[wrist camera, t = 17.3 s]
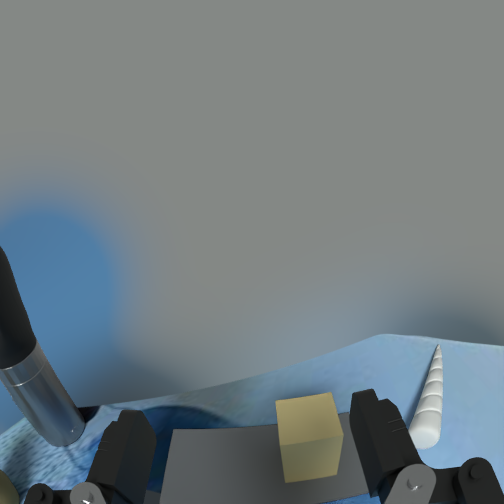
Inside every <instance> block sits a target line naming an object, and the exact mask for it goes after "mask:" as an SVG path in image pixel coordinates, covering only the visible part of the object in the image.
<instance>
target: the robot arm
mask: <svg viewBox="0 0 504 504" xmlns="http://www.w3.org/2000/svg"><path fill="white" fill-rule="evenodd" d="M0 380H1V381H2V383H3V384H4V385H5V387H6V388H7V390H8V392H9V393H10V395H11V396H12V399H13V401H14V402H15V404H16V405H17V406H18V408H19V409H20V410H21V412H22V413H23V414H24V416H25V417H26V418H27V420H28V421H29V422H30V423H31V425H32V426H33V427H34V428H35V429H36V431H37V432H38V433H39V434H40V435H41V436H43V438H44V439H45V440H46V441H47V442H48V443H49V444H51V445H53V446H58V447H61V446H66V445H69V444H71V443H73V442H74V441H76V440H77V439H78V438H79V437H80V435H81V434H82V432H83V430H84V427H85V421H84V418H83V416H82V414H81V413H80V411H79V410H78V408H77V407H76V406H75V404H74V403H73V401H72V399H71V398H70V396H69V395H68V393H67V392H66V390H65V389H64V387H63V385H62V384H61V382H60V380H59V379H58V377H57V375H56V374H55V372H54V370H53V369H52V367H51V365H50V364H49V362H48V360H47V358H46V356H45V355H44V353H43V351H42V349H41V347H40V345H39V343H38V341H37V339H36V337H35V335H34V333H33V331H32V328H31V325H30V321H29V318H28V315H27V312H26V310H25V307H24V305H23V302H22V300H21V297H20V294H19V291H18V288H17V285H16V282H15V279H14V276H13V273H12V270H11V267H10V264H9V261H8V259H7V257H6V254H5V252H4V251H3V249H2V248H1V247H0ZM349 423H350V429H351V432H352V436H353V439H354V442H355V446H356V449H357V452H358V456H359V459H360V463H361V466H362V469H363V473H364V476H365V480H366V483H367V487H368V491H369V494H370V498H372V497H376V496H379V498H380V502H381V504H504V494H503V492H502V489H501V487H500V485H499V482H498V480H497V477H496V475H495V473H494V471H493V468H492V466H491V464H490V463H489V462H488V461H487V460H485V459H483V458H479V457H475V458H471V459H469V460H467V461H466V462H464V464H463V465H462V466H461V467H454V468H446V469H434V468H431V467H429V466H427V465H426V464H424V463H423V462H422V460H421V459H420V457H419V454H418V452H417V450H416V447H415V445H414V443H413V441H412V438H411V436H410V434H409V432H408V429H407V428H406V425H405V423H404V421H403V420H402V416H401V414H400V412H399V410H398V408H397V406H396V405H394V404H393V403H392V402H391V401H390V400H389V399H383V400H378V398H377V396H376V393H375V391H374V390H373V389H368V390H363V391H359V392H354V393H353V394H352V400H351V408H350V415H349ZM155 448H156V435H155V432H154V430H153V429H152V427H151V425H150V424H149V422H148V420H147V419H146V417H145V415H144V413H143V412H142V411H140V410H122V411H121V413H120V415H119V418H118V421H112V422H111V423H110V425H109V426H108V427H107V428H106V429H105V430H104V433H103V436H102V438H101V442H100V444H99V446H98V450H97V452H96V454H95V457H94V460H93V463H92V465H91V468H90V471H89V474H88V477H87V479H86V481H85V482H82V483H79V484H77V485H76V486H75V487H74V488H73V489H72V490H52V489H51V488H50V487H49V486H47V485H46V484H43V483H38V484H35V485H33V486H32V487H31V488H30V489H29V490H28V493H27V495H26V498H25V501H24V504H143V502H144V497H145V492H146V488H147V483H148V479H149V474H150V470H151V465H152V461H153V456H154V452H155Z"/></svg>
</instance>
